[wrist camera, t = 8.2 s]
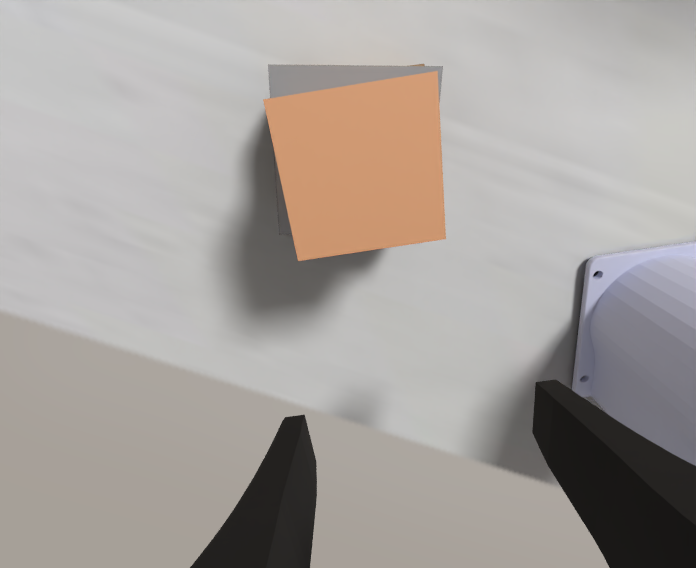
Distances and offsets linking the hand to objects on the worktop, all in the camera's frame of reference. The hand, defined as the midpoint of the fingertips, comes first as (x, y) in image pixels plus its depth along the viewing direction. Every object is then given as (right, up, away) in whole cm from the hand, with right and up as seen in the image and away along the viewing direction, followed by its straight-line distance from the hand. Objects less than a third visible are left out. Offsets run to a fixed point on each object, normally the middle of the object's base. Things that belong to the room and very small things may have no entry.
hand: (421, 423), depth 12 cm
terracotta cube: (-2, +9, +2) cm, 10 cm away
